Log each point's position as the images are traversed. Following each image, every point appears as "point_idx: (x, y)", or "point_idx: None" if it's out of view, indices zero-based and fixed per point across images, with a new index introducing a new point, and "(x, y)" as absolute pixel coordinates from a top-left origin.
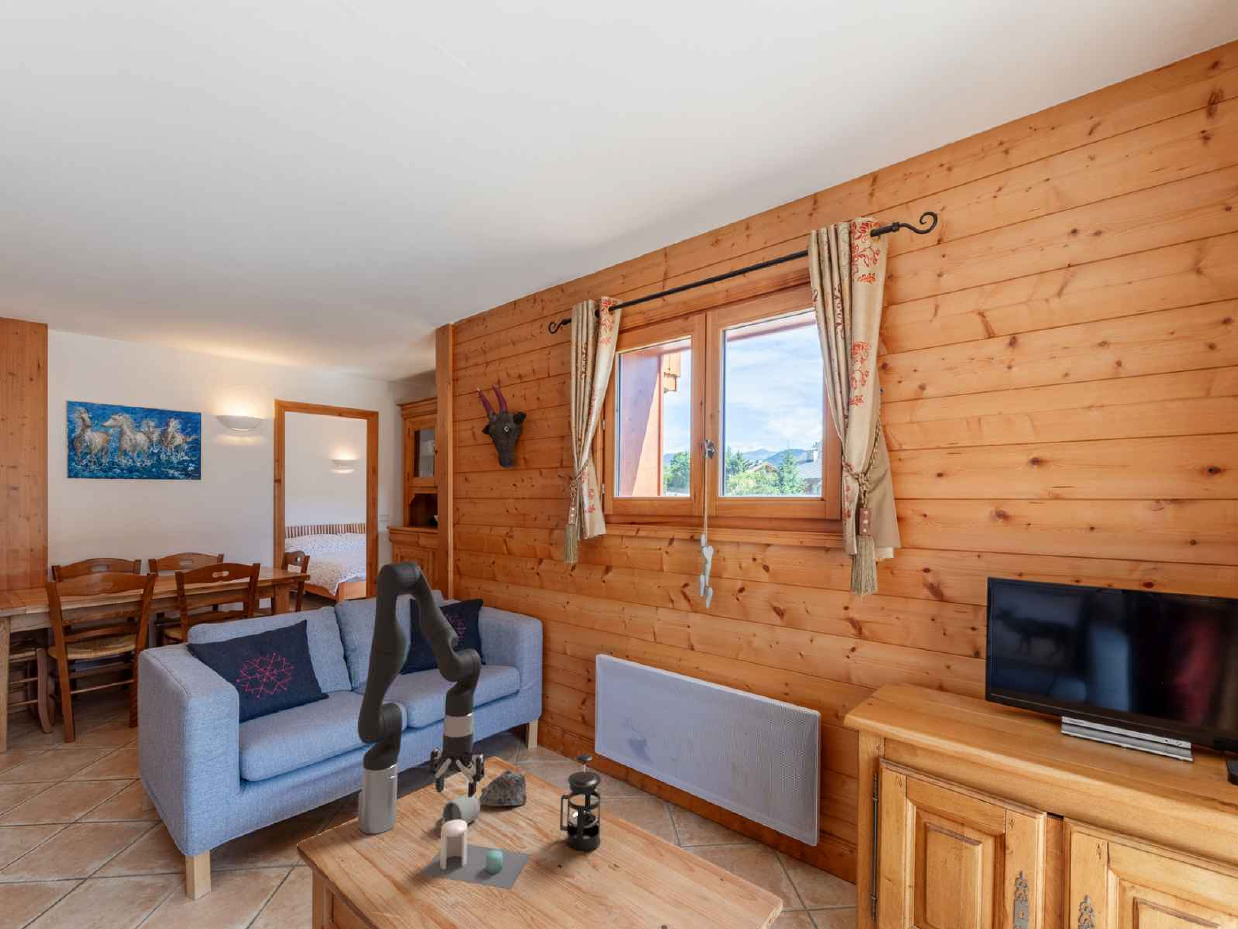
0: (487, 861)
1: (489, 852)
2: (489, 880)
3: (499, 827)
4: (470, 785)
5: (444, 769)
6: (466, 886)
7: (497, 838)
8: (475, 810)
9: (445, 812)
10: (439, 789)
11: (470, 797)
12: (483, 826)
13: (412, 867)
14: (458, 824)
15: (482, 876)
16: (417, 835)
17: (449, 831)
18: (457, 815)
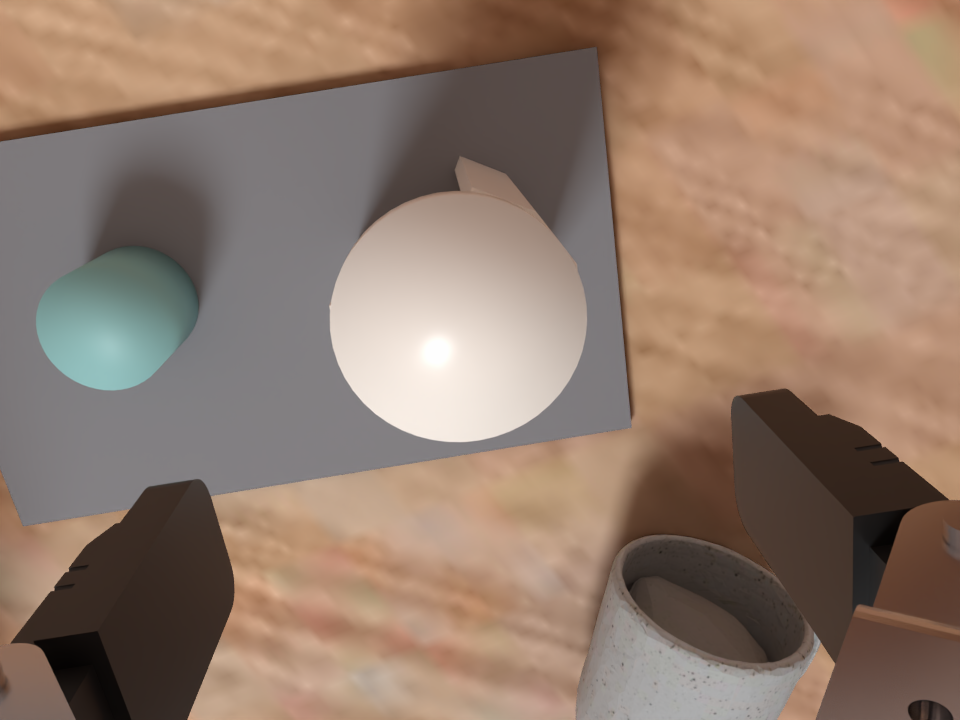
0: (131, 269)
1: (158, 341)
2: (82, 183)
3: (412, 671)
4: (62, 610)
5: (853, 695)
6: (205, 78)
7: (352, 581)
8: (587, 702)
9: (790, 616)
10: (760, 411)
11: (160, 489)
12: (513, 643)
13: (701, 107)
14: (442, 368)
15: (157, 200)
16: (870, 412)
17: (450, 234)
18: (682, 616)
